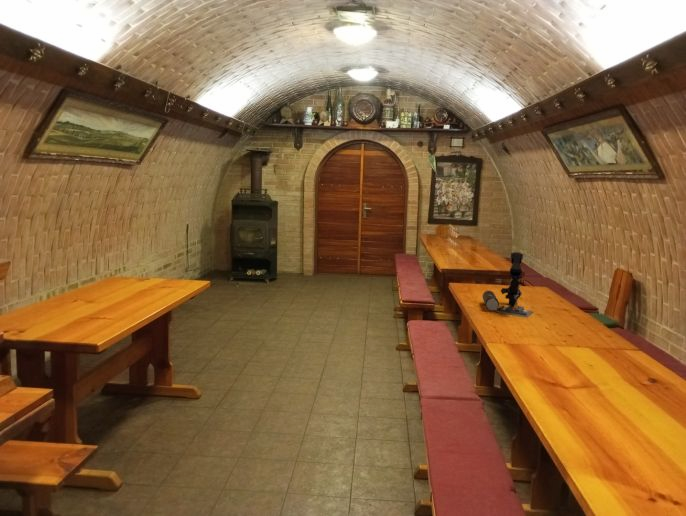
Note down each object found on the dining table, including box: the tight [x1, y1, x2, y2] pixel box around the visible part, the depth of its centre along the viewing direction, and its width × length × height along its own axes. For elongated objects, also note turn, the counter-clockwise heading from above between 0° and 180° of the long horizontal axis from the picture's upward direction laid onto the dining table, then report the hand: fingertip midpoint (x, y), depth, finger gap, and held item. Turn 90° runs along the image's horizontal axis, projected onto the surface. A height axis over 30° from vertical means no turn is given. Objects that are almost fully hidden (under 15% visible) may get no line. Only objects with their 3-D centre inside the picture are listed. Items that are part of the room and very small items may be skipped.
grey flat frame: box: [496, 305, 527, 315], centre depth 389 cm, size 15×20×1 cm
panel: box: [494, 306, 534, 318], centre depth 389 cm, size 16×22×1 cm
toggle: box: [512, 300, 519, 309], centre depth 388 cm, size 3×3×7 cm
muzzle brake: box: [482, 290, 500, 312], centre depth 399 cm, size 10×28×10 cm, turn 170°
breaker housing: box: [505, 305, 527, 312], centre depth 388 cm, size 13×12×2 cm
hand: (512, 307), depth 384 cm, fingers closed
